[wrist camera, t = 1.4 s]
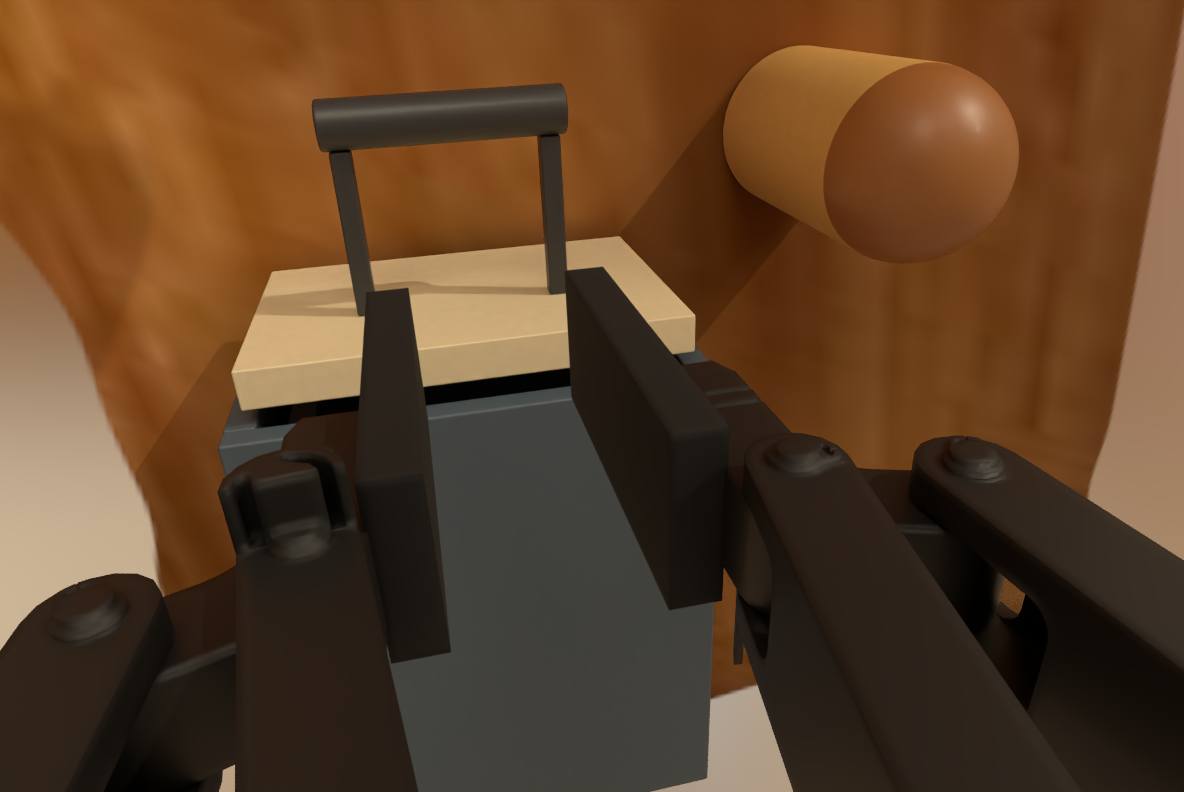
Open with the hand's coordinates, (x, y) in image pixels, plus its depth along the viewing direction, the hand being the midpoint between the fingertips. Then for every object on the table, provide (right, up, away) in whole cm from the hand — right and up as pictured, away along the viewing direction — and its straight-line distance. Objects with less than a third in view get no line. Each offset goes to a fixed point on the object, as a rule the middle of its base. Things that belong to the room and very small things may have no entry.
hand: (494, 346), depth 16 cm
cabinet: (-3, -5, +20) cm, 21 cm away
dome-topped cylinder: (+10, +10, +17) cm, 22 cm away
